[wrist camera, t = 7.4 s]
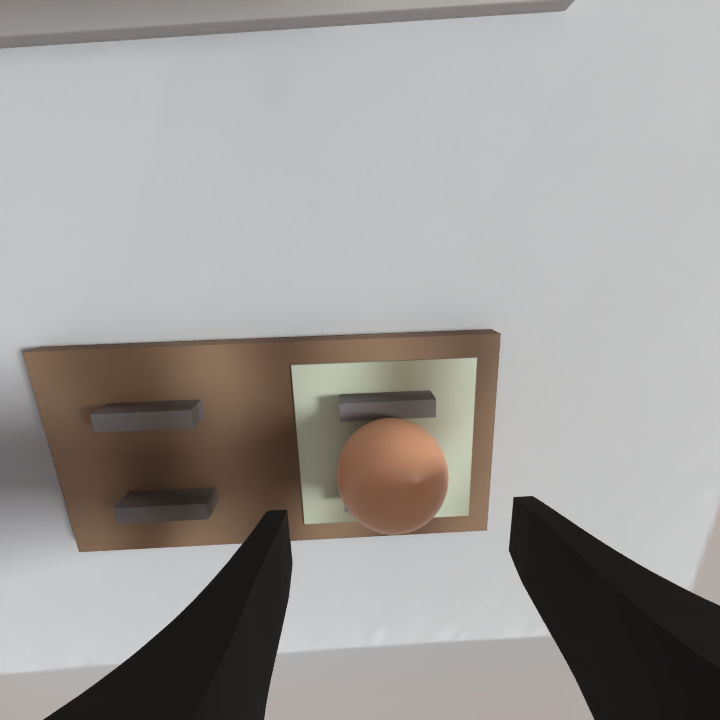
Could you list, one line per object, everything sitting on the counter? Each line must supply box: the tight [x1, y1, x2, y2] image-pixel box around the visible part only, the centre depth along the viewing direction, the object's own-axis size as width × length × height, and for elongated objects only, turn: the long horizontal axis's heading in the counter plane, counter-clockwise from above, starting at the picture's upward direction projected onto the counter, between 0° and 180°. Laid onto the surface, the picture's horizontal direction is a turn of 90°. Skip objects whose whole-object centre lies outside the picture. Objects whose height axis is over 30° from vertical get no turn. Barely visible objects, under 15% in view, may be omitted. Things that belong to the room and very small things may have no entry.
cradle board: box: [23, 329, 501, 552], centre depth 17 cm, size 20×10×2 cm, turn 92°
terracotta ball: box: [337, 418, 449, 535], centre depth 15 cm, size 4×4×4 cm
